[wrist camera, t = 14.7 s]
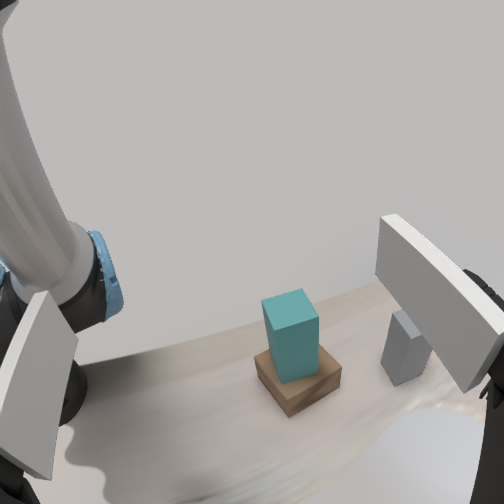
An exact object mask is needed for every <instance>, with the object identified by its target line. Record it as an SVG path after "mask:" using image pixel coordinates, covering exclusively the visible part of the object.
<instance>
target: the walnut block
mask: <svg viewBox="0 0 504 504" xmlns="http://www.w3.org/2000/svg"><path fill="white" fill-rule="evenodd" d="M254 360H255V365H256V369H257V373H258V377H259V379H260V380H261V381H262V383H263V384H264V385H265V387H266V388H267V389H268V391H269V392H270V393H271V395H272V396H273V397H274V399H275V400H276V401H277V403H278V404H279V405H280V407H281V408H282V409H283V411H284V412H285V413H286V415H287V416H288V417H291V416H293V415H295V414H296V413H298V412H300V411H301V410H303V409H305V408H307V407H308V406H310V405H311V404H313V403H315V402H316V401H318V400H320V399H321V398H323V397H324V396H326V395H327V394H329V393H330V392H332V391H334V390H335V389H337V388H338V387H339V385H340V378H341V370H342V366H341V365H340V364H339V363H338V362H337V361H336V360H335V359H334V358H333V357H332V356H331V355H330V354H329V353H328V352H327V351H326V350H325V349H324V348H323V347H322V346H321V345H320V344H319V350H318V373H315V374H312V375H309V376H307V377H304V378H301V379H298V380H295V381H291V382H288V383H285V384H281V381H280V379H279V376H278V374H277V371H276V369H275V366H274V363H273V361H272V358H271V355H270V349H268V350H266V351H264V352H263V353H261V354H259V355H257V356H255V357H254Z"/></svg>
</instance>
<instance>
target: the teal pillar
mask: <svg viewBox="0 0 504 504" xmlns="http://www.w3.org/2000/svg"><path fill="white" fill-rule="evenodd" d="M262 307H263V313H264V319H265V325H266V331H267V337H268V343H269V349H270V355H271V358H272V361H273V363H274V366H275V369H276V371H277V374H278V376H279V379H280V381H281V384H285V383H288V382H291V381H295V380H298V379H301V378H304V377H307V376H309V375H312V374H315V373H318V350H319V316H318V314H317V313H316V311H315V309H314V307H313V306H312V304H311V302H310V301H309V299H308V297H307V296H306V294H305V292H304V291H303V289H299V290H295V291H292V292H289V293H285V294H282V295H278V296H275V297H271V298H268V299H264V300H262Z"/></svg>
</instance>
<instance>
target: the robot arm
mask: <svg viewBox="0 0 504 504" xmlns="http://www.w3.org/2000/svg"><path fill="white" fill-rule="evenodd" d="M18 2H19V0H0V260H1V261H2V262H3V263H4V264H5V265H6V266H7V267H8V269H9V270H10V271H9V272H6V271H5V267H3V266H2V265H1V264H0V504H40V502H39V500H38V498H37V496H36V495H35V493H34V491H33V489H32V487H31V485H30V483H29V482H28V481H27V479H26V478H24V477H23V474H24V471H25V472H26V473H28V474H29V475H31V476H33V477H34V478H38V479H44V480H52V470H53V461H54V454H55V446H56V439H57V433H58V427H60V426H62V425H63V424H65V423H66V422H68V421H69V420H70V419H71V418H72V417H73V416H74V415H75V414H76V412H77V411H78V410H79V408H80V406H81V404H82V402H83V400H84V397H85V393H86V377H85V374H84V372H83V371H82V369H81V368H80V367H79V365H78V364H77V363H76V361H74V359H73V357H74V353H75V350H76V346H77V343H78V338H77V337H76V335H75V334H76V333H78V332H80V331H82V330H84V329H86V328H89V327H91V326H93V325H95V324H97V323H99V322H105V321H106V320H107V319H108V318H110V317H111V316H113V315H115V314H117V313H118V312H120V311H121V309H122V308H123V304H124V301H123V296H122V292H121V288H120V285H119V282H118V279H117V278H116V273H115V269H114V266H113V264H112V260H111V257H110V255H109V252H108V249H107V246H106V244H105V241H104V239H103V237H102V235H101V233H100V232H98V231H92V232H90V231H88V232H86V231H85V229H84V228H83V227H81V226H80V225H78V224H77V223H75V222H72V221H68V220H67V219H66V217H65V215H64V213H63V211H62V209H61V207H60V205H59V203H58V201H57V198H56V196H55V194H54V192H53V190H52V188H51V185H50V183H49V181H48V178H47V176H46V174H45V171H44V169H43V167H42V164H41V162H40V159H39V157H38V154H37V152H36V149H35V146H34V144H33V142H32V138H31V136H30V133H29V130H28V128H27V125H26V122H25V119H24V116H23V113H22V110H21V107H20V103H19V100H18V97H17V94H16V90H15V87H14V83H13V80H12V76H11V72H10V68H9V64H8V60H7V56H6V51H5V47H4V42H3V37H2V31H3V27H4V25H5V23H6V22H7V20H8V18H9V16H10V15H11V13H12V12H13V10H14V9H15V7H16V6H17V4H18ZM375 275H376V276H377V277H378V278H379V280H380V281H381V282H382V283H383V285H384V286H385V287H386V288H387V290H388V291H389V292H390V293H391V295H392V296H393V297H394V298H395V300H396V301H397V302H398V304H399V305H400V306H401V307H402V309H403V310H404V311H405V313H406V314H407V315H408V316H409V318H410V319H411V320H412V322H413V323H414V324H415V326H416V327H417V328H418V330H419V331H420V332H421V334H422V335H423V336H424V338H425V339H426V341H427V342H428V343H429V345H430V346H431V347H432V349H433V350H434V352H435V353H436V354H437V356H438V357H439V359H440V360H441V361H442V363H443V364H444V366H445V367H446V369H447V370H448V371H449V373H450V374H451V376H452V377H453V379H454V380H455V382H456V383H457V385H458V386H459V388H460V389H461V391H462V392H463V394H464V393H466V392H468V391H469V390H471V389H472V388H474V387H476V386H477V385H479V384H480V383H481V381H482V380H483V378H484V377H485V375H486V374H487V373H488V374H489V375H490V377H491V379H490V380H489V382H488V383H487V385H486V386H485V388H484V389H483V390H482V392H481V394H480V397H479V399H482V398H483V397H484V395H485V394H486V393H487V391H488V396H487V397H486V400H487V410H486V420H485V428H484V436H483V443H482V450H481V455H480V461H479V466H478V471H477V475H476V480H475V485H474V488H473V492H472V496H471V500H470V504H504V300H502V298H501V297H500V296H499V295H496V294H495V291H494V290H493V289H492V288H491V287H488V285H487V284H486V283H485V282H484V281H483V280H482V279H481V278H480V277H479V276H478V275H476V274H474V273H472V272H470V271H468V270H466V269H465V270H461V269H460V268H459V267H458V266H457V265H456V264H454V263H453V262H452V261H451V260H450V259H449V258H448V257H447V256H446V255H445V254H443V253H442V252H441V251H440V250H439V249H438V248H437V247H435V246H434V245H433V244H432V243H431V242H430V241H429V240H427V239H426V238H425V237H424V236H423V235H422V234H420V233H419V232H418V231H417V230H416V229H414V228H413V227H412V226H411V225H409V224H408V223H407V222H406V221H405V220H403V219H402V218H401V217H400V216H398V215H397V214H392V215H387V216H382V217H380V228H379V241H378V251H377V261H376V272H375Z"/></svg>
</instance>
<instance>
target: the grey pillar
mask: <svg viewBox="0 0 504 504" xmlns="http://www.w3.org/2000/svg"><path fill="white" fill-rule="evenodd" d="M431 352H432V347H431V346H430V345H429V343H428V342H427V341H426V339H425V338H424V336H423V335H422V334H421V332H420V331H419V330H418V328H417V327H416V326H415V324H414V323H413V322H412V320H411V319H410V318H409V316H408V315H407V314H406V313H405V311H404V310H403V309H402V310H399V311H397V312H394V313H392V318H391V322H390V327H389V331H388V335H387V339H386V343H385V347H384V351H383V355H382V359H381V364H382V366H383V367H384V369H385V371H386V372H387V374H388V376H389V378H390V379H391V381H392V383H393V385H394V386H397V385H399V384H401V383H404V382H406V381H408V380H410V379H413V378H415V377H417V376H419V375H421V374H422V372H423V370H424V368H425V366H426V363H427V361H428V359H429V356H430V354H431Z"/></svg>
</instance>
